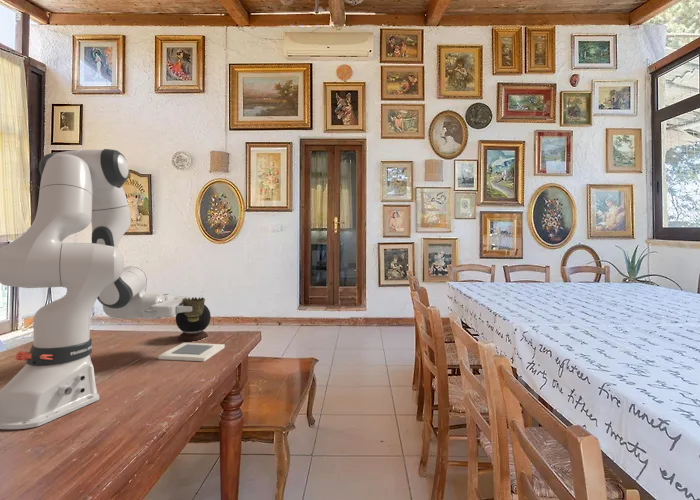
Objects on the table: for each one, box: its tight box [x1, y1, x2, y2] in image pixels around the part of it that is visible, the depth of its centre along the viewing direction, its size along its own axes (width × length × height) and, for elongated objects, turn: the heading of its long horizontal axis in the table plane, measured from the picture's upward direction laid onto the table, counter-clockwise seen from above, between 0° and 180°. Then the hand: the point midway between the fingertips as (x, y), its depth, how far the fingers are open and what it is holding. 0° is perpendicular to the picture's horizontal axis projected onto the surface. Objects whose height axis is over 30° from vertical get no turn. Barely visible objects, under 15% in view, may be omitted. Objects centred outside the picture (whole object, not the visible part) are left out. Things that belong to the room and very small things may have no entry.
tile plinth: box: [157, 342, 226, 362], centre depth 131 cm, size 16×16×2 cm
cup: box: [182, 296, 206, 322], centre depth 131 cm, size 8×7×8 cm
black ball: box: [175, 304, 212, 343], centre depth 151 cm, size 13×13×15 cm
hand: (196, 306), depth 131 cm, fingers closed on cup, 7 cm apart
